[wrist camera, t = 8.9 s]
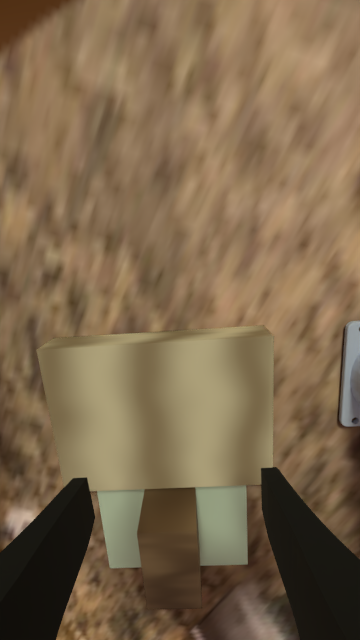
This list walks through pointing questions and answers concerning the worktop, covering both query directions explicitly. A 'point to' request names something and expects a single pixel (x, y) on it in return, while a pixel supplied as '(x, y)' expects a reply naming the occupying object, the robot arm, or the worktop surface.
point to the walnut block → (170, 548)
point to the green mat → (213, 525)
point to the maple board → (162, 407)
